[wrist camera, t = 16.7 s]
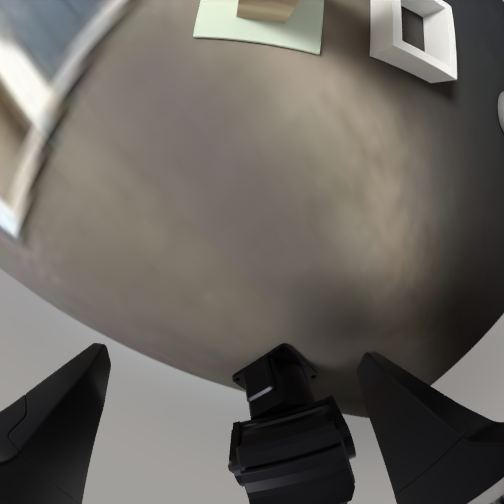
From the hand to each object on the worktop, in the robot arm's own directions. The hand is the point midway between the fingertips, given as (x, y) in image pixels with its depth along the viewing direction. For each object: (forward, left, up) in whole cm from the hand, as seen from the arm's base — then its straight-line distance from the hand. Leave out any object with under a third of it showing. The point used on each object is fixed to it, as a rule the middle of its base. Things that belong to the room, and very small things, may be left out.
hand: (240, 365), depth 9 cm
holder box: (+5, -23, -13) cm, 27 cm away
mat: (+13, -14, -13) cm, 23 cm away
